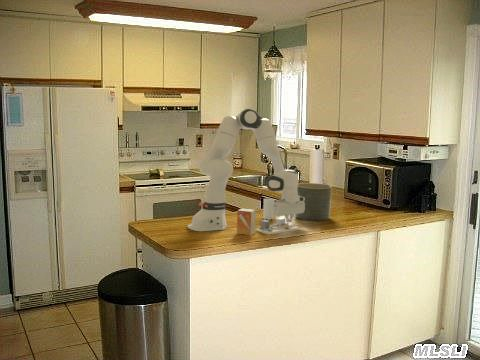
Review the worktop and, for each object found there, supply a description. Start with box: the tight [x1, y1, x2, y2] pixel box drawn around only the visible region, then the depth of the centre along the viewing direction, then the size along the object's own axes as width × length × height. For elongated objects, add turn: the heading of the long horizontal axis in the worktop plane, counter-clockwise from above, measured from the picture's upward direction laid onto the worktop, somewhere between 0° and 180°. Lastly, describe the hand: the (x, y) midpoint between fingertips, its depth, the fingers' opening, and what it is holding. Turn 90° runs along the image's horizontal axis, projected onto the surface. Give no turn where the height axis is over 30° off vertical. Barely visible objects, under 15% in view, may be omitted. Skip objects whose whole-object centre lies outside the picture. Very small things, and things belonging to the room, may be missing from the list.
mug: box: [262, 198, 276, 221], centre depth 308 cm, size 10×7×12 cm, turn 71°
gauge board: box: [256, 219, 300, 235], centre depth 279 cm, size 22×10×6 cm, turn 125°
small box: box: [236, 208, 256, 236], centre depth 270 cm, size 8×6×13 cm
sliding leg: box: [276, 217, 290, 227], centre depth 280 cm, size 3×9×4 cm, turn 35°
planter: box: [294, 182, 333, 222], centre depth 315 cm, size 22×22×20 cm
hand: (289, 222), depth 286 cm, fingers closed
